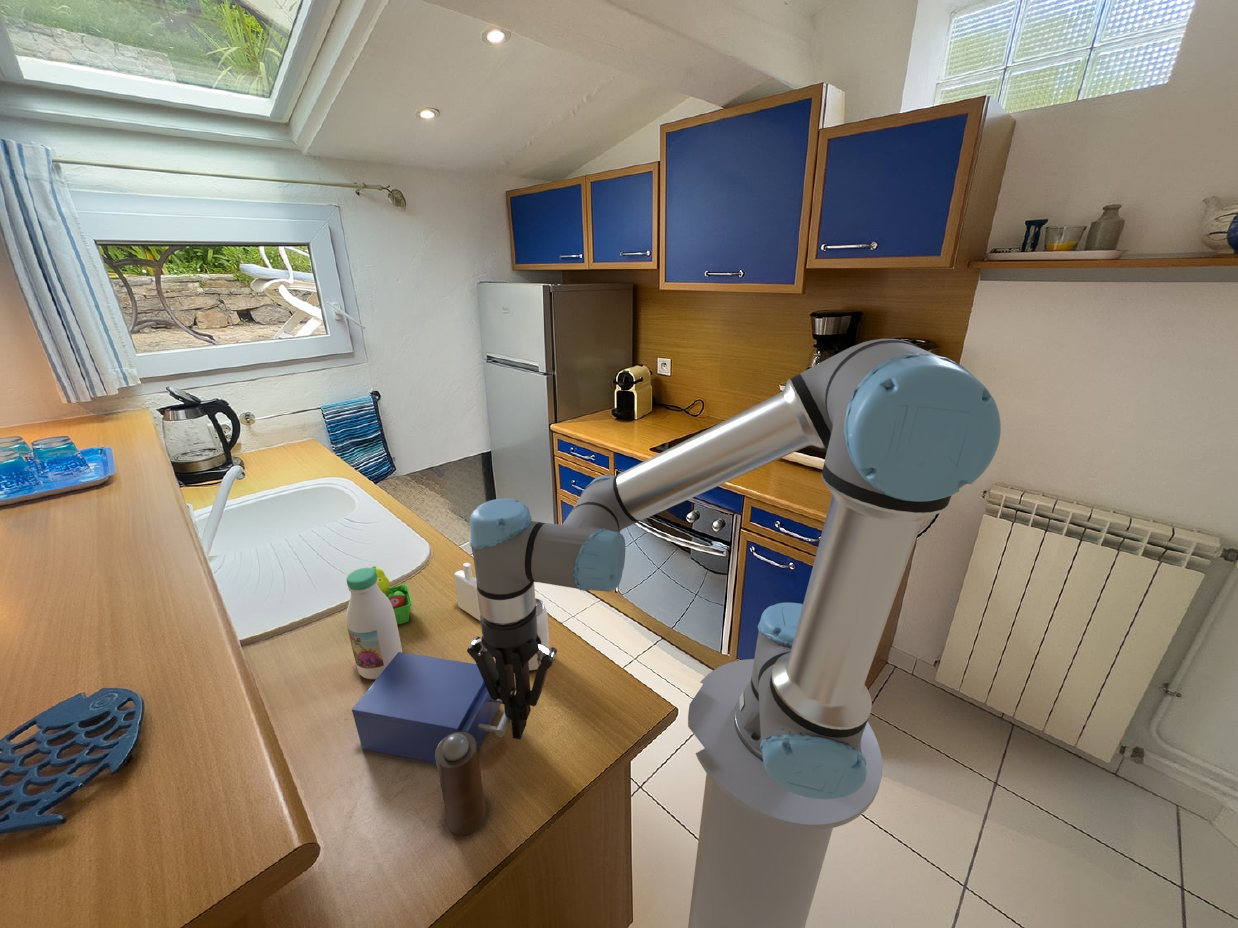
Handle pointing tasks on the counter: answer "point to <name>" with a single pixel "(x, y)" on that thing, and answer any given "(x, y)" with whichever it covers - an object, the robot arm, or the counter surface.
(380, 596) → the milk bottle
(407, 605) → the fruit basket
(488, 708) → the drawer
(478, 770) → the pepper mill
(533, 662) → the can
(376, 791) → the counter surface
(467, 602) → the perfume bottle
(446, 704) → the cabinet
